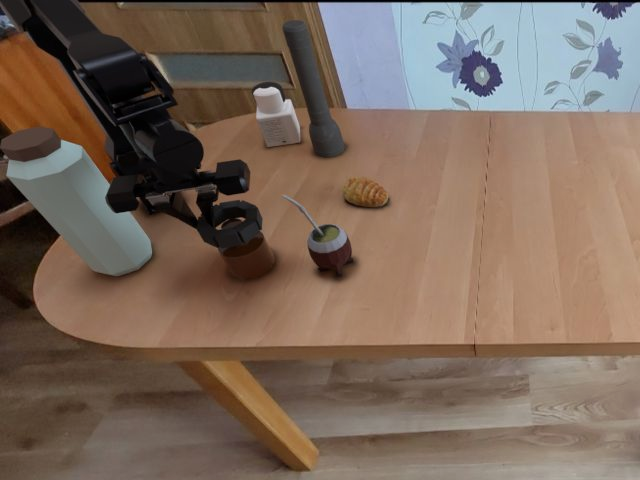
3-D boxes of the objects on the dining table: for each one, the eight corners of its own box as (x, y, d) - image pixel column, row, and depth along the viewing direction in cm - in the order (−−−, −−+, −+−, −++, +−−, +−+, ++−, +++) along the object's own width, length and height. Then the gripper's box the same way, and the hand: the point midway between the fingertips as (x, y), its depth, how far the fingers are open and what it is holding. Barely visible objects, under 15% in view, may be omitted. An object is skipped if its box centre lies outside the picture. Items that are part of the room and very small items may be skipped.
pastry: (395, 195, 100) (393, 180, 97) (378, 213, 96) (375, 199, 93) (358, 184, 102) (354, 170, 99) (340, 202, 98) (336, 187, 95)
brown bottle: (239, 286, 82) (216, 246, 75) (224, 262, 85) (200, 223, 79) (281, 265, 85) (263, 226, 78) (264, 244, 89) (245, 204, 82)
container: (268, 131, 117) (248, 80, 107) (300, 127, 118) (283, 76, 109) (267, 147, 112) (246, 95, 102) (300, 143, 113) (283, 91, 104)
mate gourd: (360, 272, 84) (341, 207, 73) (316, 286, 82) (289, 221, 71) (350, 246, 89) (330, 181, 78) (307, 259, 86) (281, 194, 75)
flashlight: (336, 138, 115) (309, 147, 112) (303, 14, 94) (269, 22, 91) (349, 150, 111) (322, 160, 108) (318, 25, 91) (282, 33, 88)
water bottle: (146, 276, 83) (48, 154, 64) (85, 282, 82) (-33, 160, 63) (164, 238, 89) (80, 118, 71) (107, 244, 88) (7, 122, 70)
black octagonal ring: (263, 207, 83) (258, 196, 81) (261, 241, 77) (256, 230, 75) (206, 216, 81) (200, 205, 79) (200, 252, 75) (193, 240, 73)
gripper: (232, 108, 73) (266, 189, 84) (96, 124, 69) (152, 207, 80) (227, 145, 66) (265, 228, 77) (75, 166, 62) (139, 250, 73)
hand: (206, 226), depth 77 cm, fingers closed on black octagonal ring, 2 cm apart
